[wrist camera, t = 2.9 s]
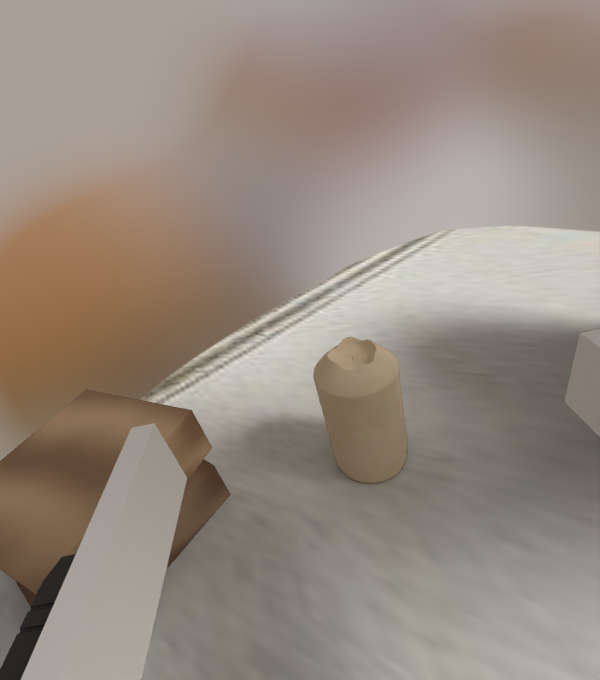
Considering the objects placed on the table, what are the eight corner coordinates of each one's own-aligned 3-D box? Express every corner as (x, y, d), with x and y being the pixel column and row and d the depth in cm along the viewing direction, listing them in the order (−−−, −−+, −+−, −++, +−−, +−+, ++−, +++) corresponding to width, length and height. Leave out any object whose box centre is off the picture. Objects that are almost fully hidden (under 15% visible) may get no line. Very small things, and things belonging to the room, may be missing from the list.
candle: (339, 489, 27) (309, 386, 21) (332, 431, 31) (307, 334, 26) (416, 478, 26) (406, 369, 20) (398, 421, 30) (386, 319, 25)
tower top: (110, 421, 34) (86, 389, 31) (212, 447, 28) (191, 410, 26) (-26, 551, 25) (-71, 519, 23) (81, 625, 20) (34, 592, 17)
